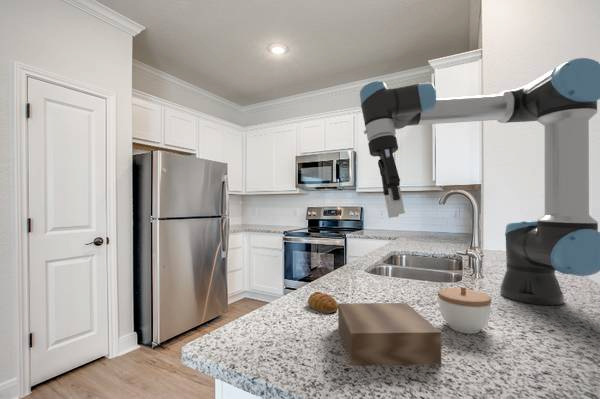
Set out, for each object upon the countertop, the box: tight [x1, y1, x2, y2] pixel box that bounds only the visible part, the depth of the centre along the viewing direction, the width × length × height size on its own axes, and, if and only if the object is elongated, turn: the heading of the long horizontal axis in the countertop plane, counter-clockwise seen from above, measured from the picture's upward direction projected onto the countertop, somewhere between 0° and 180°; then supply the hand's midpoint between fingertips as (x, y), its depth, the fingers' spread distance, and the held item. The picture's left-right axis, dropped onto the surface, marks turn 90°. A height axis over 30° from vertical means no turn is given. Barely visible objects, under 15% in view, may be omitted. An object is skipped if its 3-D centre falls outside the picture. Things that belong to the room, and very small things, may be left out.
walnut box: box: [337, 302, 442, 367], centre depth 60 cm, size 16×16×6 cm
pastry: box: [307, 291, 338, 314], centre depth 81 cm, size 9×7×4 cm
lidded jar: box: [437, 286, 492, 335], centre depth 67 cm, size 11×11×9 cm
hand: (396, 215), depth 77 cm, fingers open, 13 cm apart
